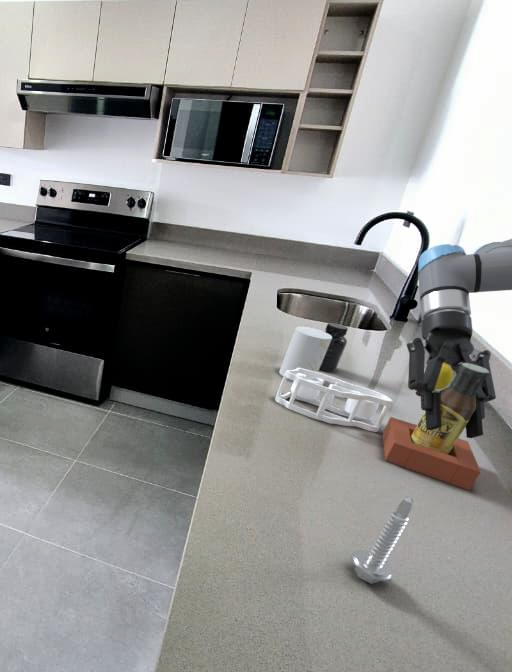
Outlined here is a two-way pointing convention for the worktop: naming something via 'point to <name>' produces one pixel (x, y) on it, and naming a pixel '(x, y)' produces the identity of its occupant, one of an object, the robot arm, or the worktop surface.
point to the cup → (306, 350)
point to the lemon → (444, 377)
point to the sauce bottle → (452, 409)
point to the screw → (382, 547)
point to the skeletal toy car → (357, 406)
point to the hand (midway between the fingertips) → (454, 431)
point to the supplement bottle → (334, 346)
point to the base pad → (429, 456)
